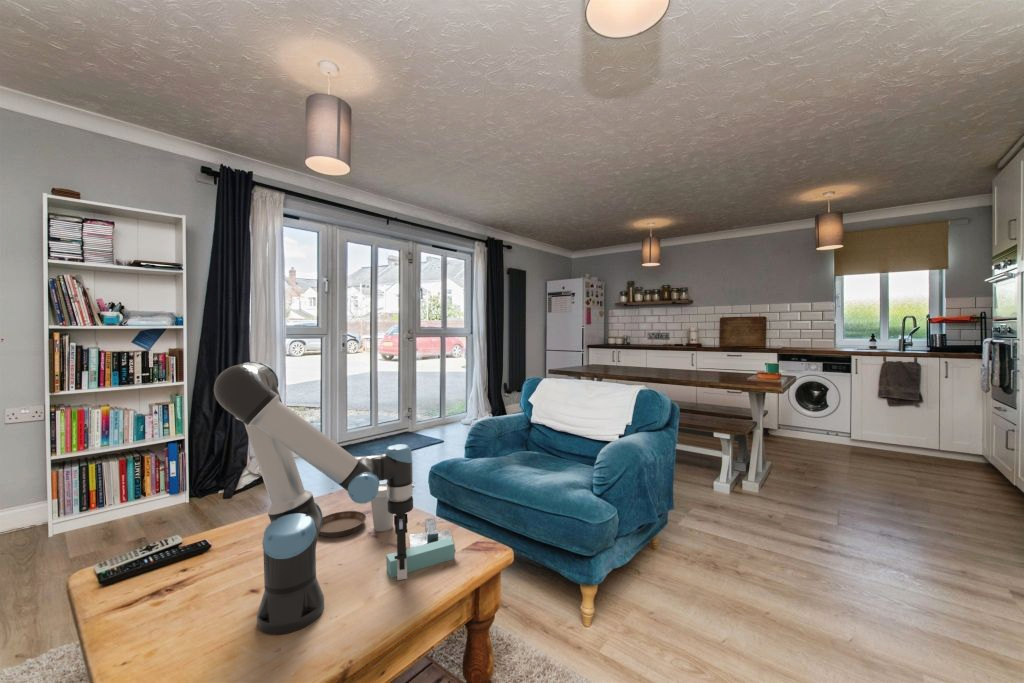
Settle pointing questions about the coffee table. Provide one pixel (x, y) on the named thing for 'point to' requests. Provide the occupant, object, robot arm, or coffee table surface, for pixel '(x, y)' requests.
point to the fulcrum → (429, 534)
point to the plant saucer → (342, 523)
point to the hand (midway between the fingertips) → (402, 566)
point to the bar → (423, 556)
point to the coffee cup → (381, 510)
